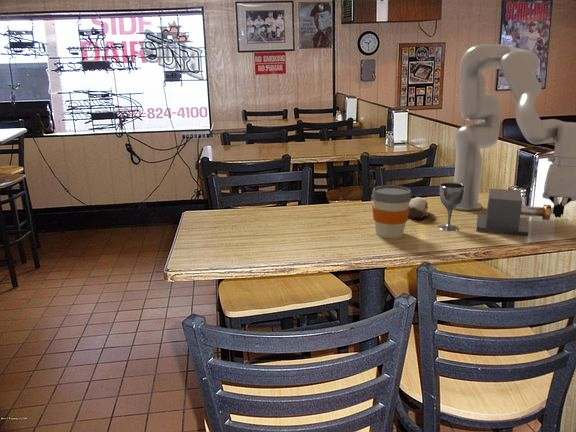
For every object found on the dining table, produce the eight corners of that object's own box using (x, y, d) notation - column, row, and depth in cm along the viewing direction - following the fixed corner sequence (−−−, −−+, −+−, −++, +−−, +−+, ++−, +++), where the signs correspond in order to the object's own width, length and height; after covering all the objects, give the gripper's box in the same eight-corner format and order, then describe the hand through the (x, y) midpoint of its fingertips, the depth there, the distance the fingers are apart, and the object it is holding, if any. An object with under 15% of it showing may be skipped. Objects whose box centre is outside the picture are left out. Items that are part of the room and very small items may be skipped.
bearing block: (476, 231, 181) (479, 198, 178) (477, 217, 195) (480, 187, 192) (528, 236, 176) (532, 202, 172) (525, 222, 190) (529, 190, 187)
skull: (408, 207, 205) (427, 190, 199) (425, 229, 202) (445, 212, 196) (393, 213, 196) (412, 196, 190) (411, 236, 193) (431, 219, 187)
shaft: (497, 217, 183) (499, 203, 181) (497, 213, 187) (499, 199, 186) (549, 222, 178) (551, 207, 176) (548, 217, 182) (550, 203, 181)
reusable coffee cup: (363, 230, 182) (364, 187, 178) (394, 226, 187) (397, 183, 182) (383, 242, 171) (386, 196, 167) (416, 237, 176) (419, 192, 171)
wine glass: (462, 225, 187) (466, 183, 182) (458, 232, 180) (463, 189, 175) (438, 223, 190) (442, 181, 185) (434, 229, 183) (438, 186, 179)
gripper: (541, 162, 172) (533, 217, 178) (594, 165, 167) (584, 221, 173) (539, 158, 179) (532, 211, 184) (589, 160, 174) (580, 215, 180)
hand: (557, 216), depth 179 cm, fingers closed
